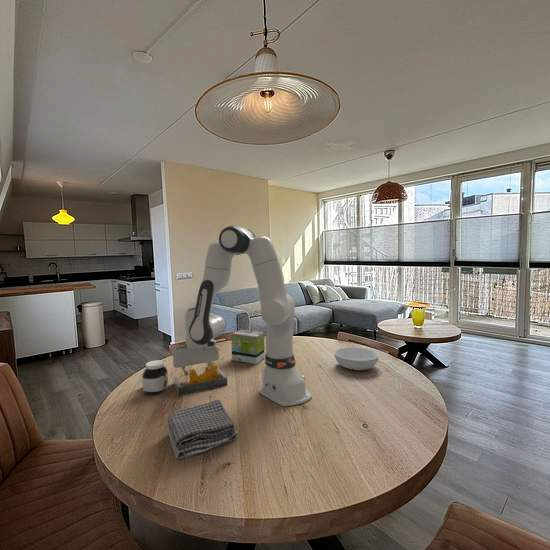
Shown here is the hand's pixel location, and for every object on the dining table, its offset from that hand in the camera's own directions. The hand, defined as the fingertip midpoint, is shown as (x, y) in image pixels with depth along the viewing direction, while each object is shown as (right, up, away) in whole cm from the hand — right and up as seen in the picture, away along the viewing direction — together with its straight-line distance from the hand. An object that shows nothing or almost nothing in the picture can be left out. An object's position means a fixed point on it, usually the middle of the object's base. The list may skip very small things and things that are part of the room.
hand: (196, 373), depth 134 cm
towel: (+13, -6, -44) cm, 46 cm away
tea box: (+21, -1, +24) cm, 32 cm away
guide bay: (+3, -3, -5) cm, 6 cm away
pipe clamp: (+3, -3, -2) cm, 5 cm away
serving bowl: (+75, -1, +12) cm, 76 cm away
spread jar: (-16, -4, -10) cm, 19 cm away
